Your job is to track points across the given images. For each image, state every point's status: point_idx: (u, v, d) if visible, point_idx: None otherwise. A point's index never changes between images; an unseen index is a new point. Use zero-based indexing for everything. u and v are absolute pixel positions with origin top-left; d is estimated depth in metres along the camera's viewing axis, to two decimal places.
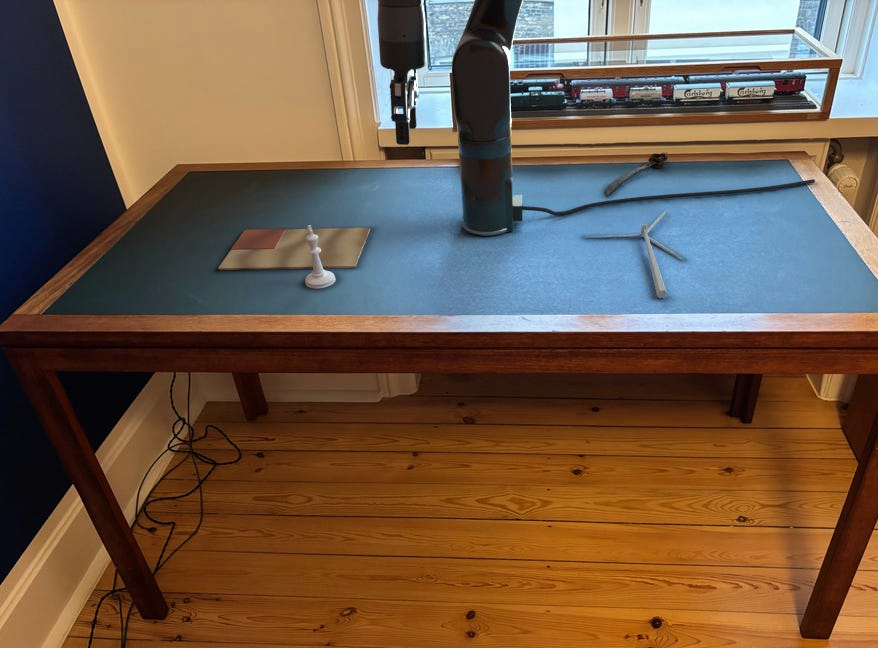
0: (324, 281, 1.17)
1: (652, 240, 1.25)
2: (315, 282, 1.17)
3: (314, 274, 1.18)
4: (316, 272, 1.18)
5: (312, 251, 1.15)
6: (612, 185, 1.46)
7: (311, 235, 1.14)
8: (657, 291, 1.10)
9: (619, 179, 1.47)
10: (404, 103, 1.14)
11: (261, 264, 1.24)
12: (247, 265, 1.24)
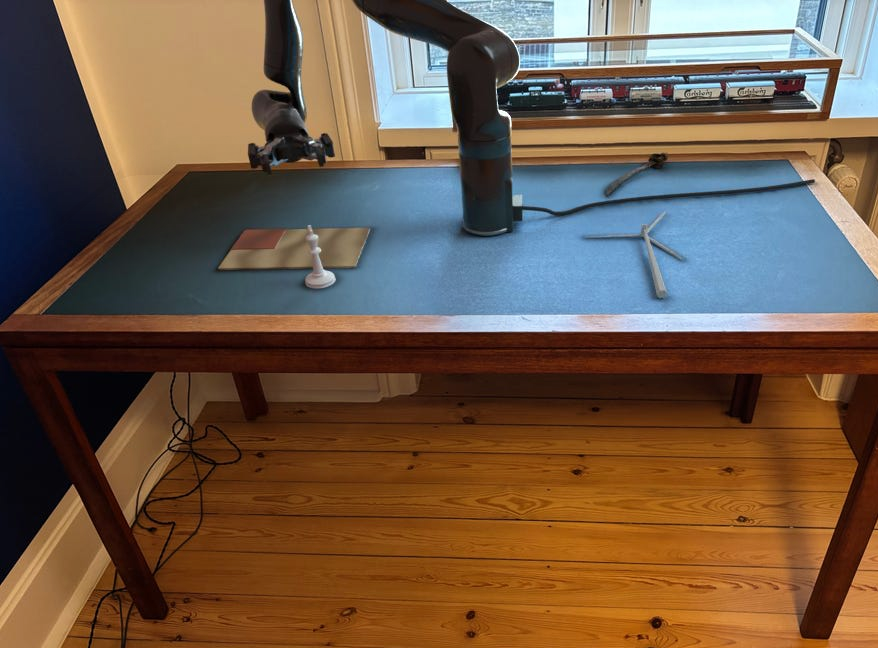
0: (324, 281, 1.17)
1: (652, 240, 1.25)
2: (315, 282, 1.17)
3: (314, 274, 1.18)
4: (316, 272, 1.18)
5: (312, 251, 1.15)
6: (612, 185, 1.46)
7: (311, 235, 1.14)
8: (657, 291, 1.10)
9: (619, 179, 1.47)
10: (248, 150, 1.22)
11: (261, 264, 1.24)
12: (247, 265, 1.24)
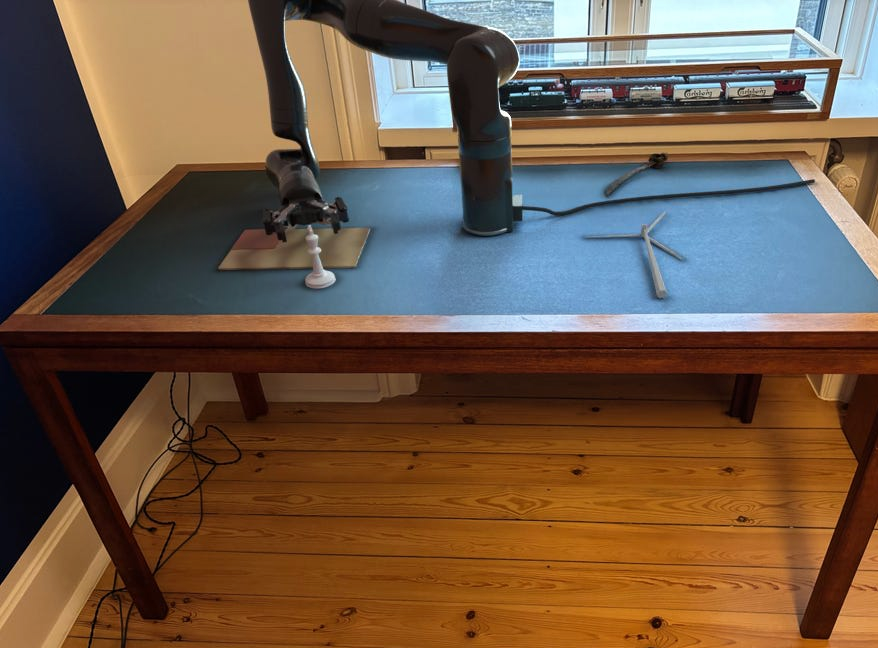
0: (324, 281, 1.17)
1: (652, 240, 1.25)
2: (315, 282, 1.17)
3: (314, 274, 1.18)
4: (316, 272, 1.18)
5: (312, 251, 1.15)
6: (612, 185, 1.46)
7: (311, 235, 1.14)
8: (657, 291, 1.10)
9: (619, 179, 1.47)
10: (263, 216, 1.24)
11: (261, 264, 1.24)
12: (247, 265, 1.24)
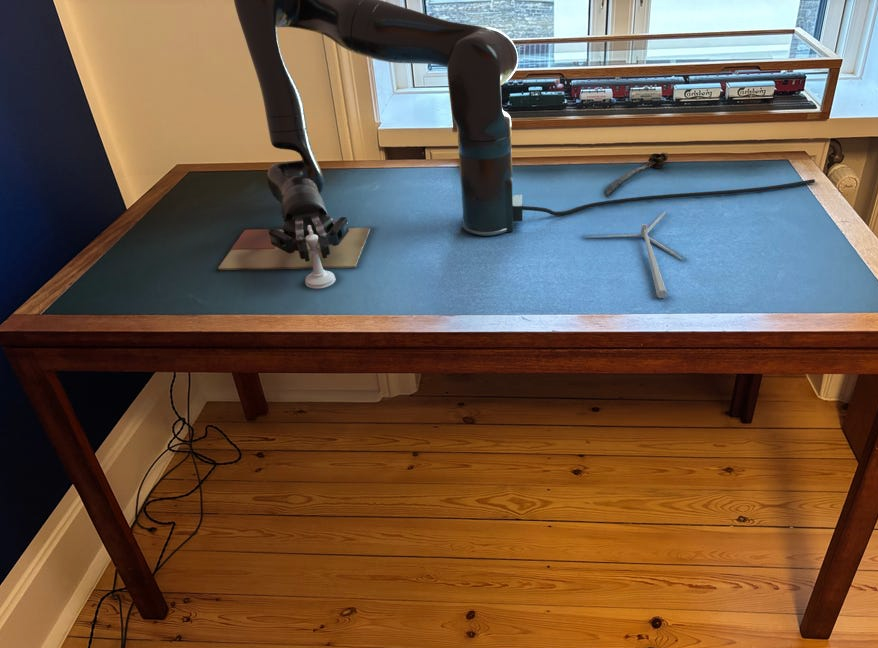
0: (324, 281, 1.17)
1: (652, 240, 1.25)
2: (315, 282, 1.17)
3: (314, 274, 1.18)
4: (316, 272, 1.18)
5: (312, 251, 1.15)
6: (612, 185, 1.46)
7: (311, 235, 1.14)
8: (657, 291, 1.10)
9: (619, 179, 1.47)
10: (277, 236, 1.17)
11: (261, 264, 1.24)
12: (247, 265, 1.24)
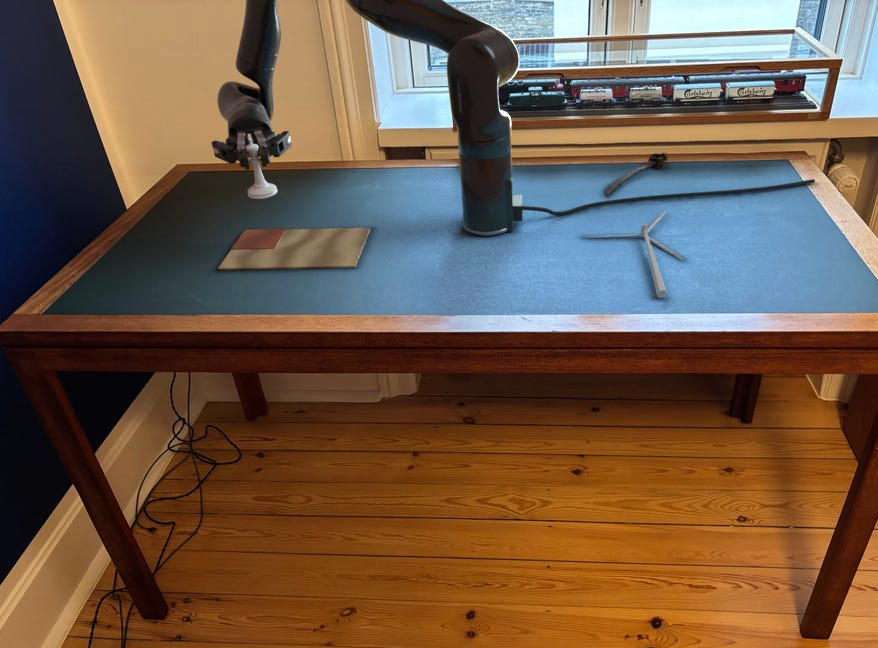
0: (265, 191, 1.20)
1: (652, 240, 1.25)
2: (256, 192, 1.20)
3: (256, 185, 1.20)
4: (258, 183, 1.20)
5: (252, 161, 1.18)
6: (612, 185, 1.46)
7: (251, 144, 1.17)
8: (657, 291, 1.10)
9: (619, 179, 1.47)
10: (219, 147, 1.19)
11: (261, 264, 1.24)
12: (247, 265, 1.24)
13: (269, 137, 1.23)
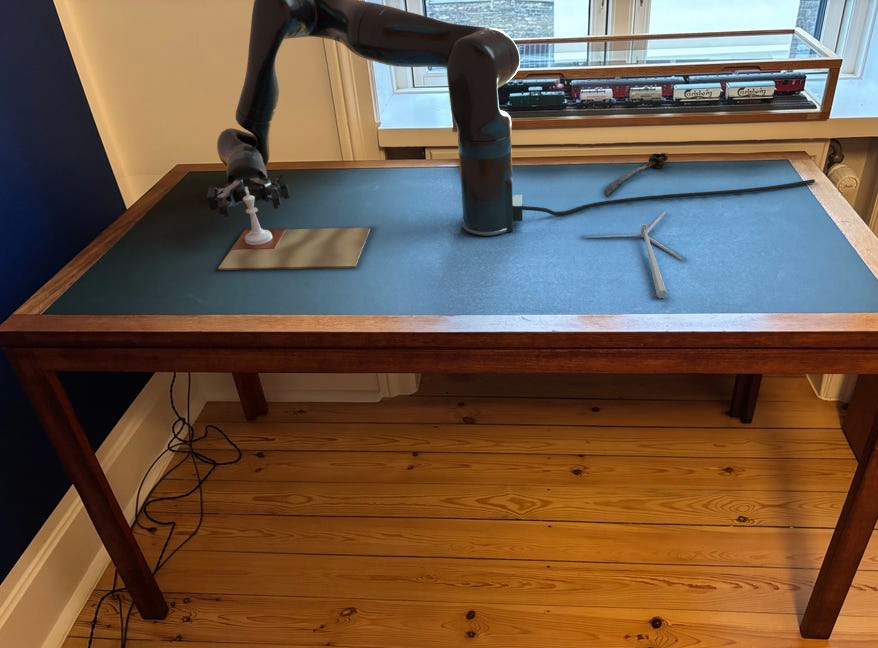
0: (261, 238, 1.31)
1: (652, 240, 1.25)
2: (253, 239, 1.30)
3: (252, 232, 1.31)
4: (254, 230, 1.31)
5: (249, 210, 1.29)
6: (612, 185, 1.46)
7: (248, 196, 1.27)
8: (657, 291, 1.10)
9: (619, 179, 1.47)
10: (208, 193, 1.31)
11: (261, 264, 1.24)
12: (247, 265, 1.24)
13: None
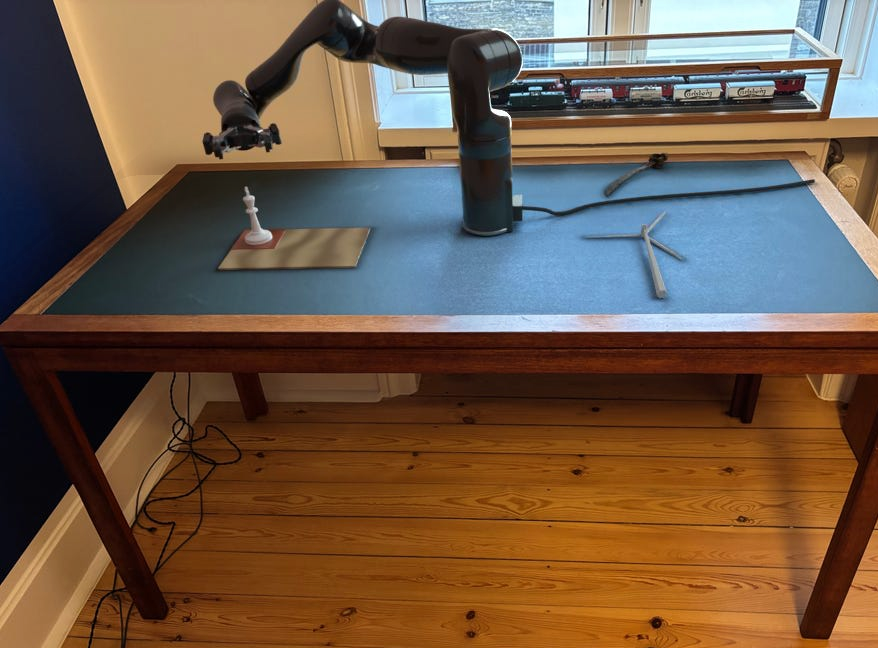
0: (261, 238, 1.31)
1: (652, 240, 1.25)
2: (253, 239, 1.30)
3: (252, 232, 1.31)
4: (254, 230, 1.31)
5: (249, 210, 1.29)
6: (612, 185, 1.46)
7: (248, 196, 1.27)
8: (657, 291, 1.10)
9: (619, 179, 1.47)
10: (203, 138, 1.37)
11: (261, 264, 1.24)
12: (247, 265, 1.24)
13: None
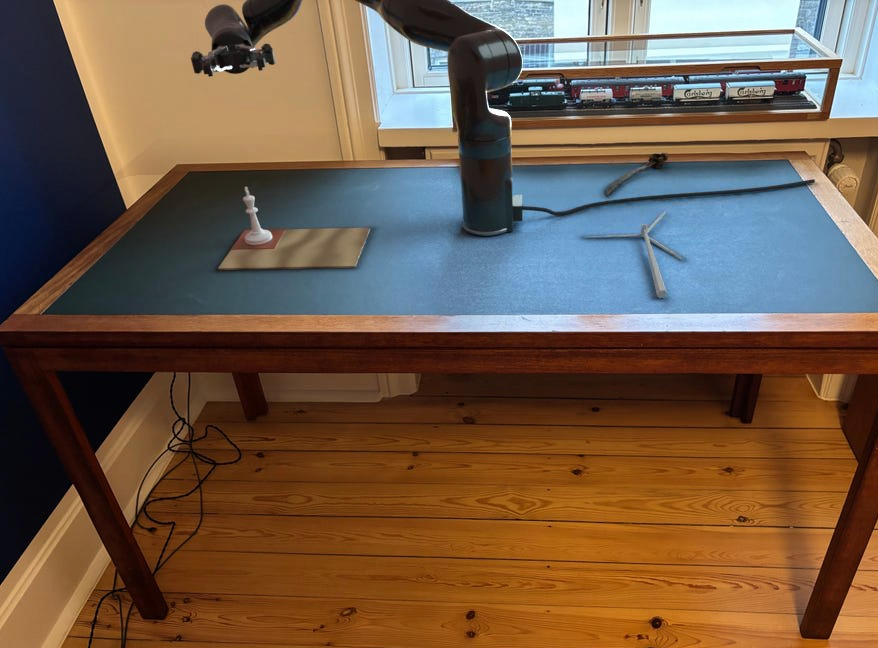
0: (261, 238, 1.31)
1: (652, 240, 1.25)
2: (253, 239, 1.30)
3: (252, 232, 1.31)
4: (254, 230, 1.31)
5: (249, 210, 1.29)
6: (612, 185, 1.46)
7: (248, 196, 1.27)
8: (657, 291, 1.10)
9: (619, 179, 1.47)
10: (192, 57, 1.29)
11: (261, 264, 1.24)
12: (247, 265, 1.24)
13: None
